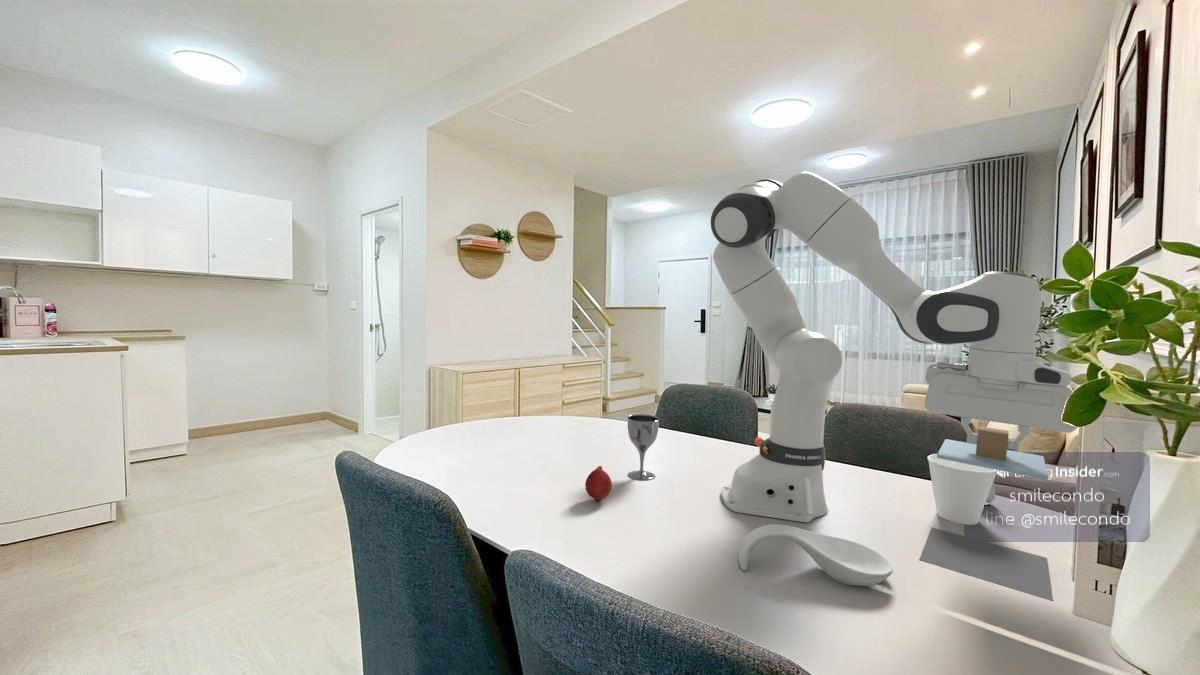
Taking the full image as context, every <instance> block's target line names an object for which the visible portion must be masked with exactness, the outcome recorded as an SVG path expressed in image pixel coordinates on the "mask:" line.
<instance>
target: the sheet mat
mask: <svg viewBox="0 0 1200 675" xmlns="http://www.w3.org/2000/svg"><path fill="white" fill-rule="evenodd" d="M918 560H919V561H921V562H924V563H927V564H931V565H934V566H937V567H941V568H944V569H947V570H950V571H953V572H957V573H960V574H964V575H966V576H970V577H973V578H976V579H980V580H982V581H986V582H990V583H992V584H996V585H999V586H1002V587H1005V588H1008V589H1013V590H1016V591H1018V592H1023V593H1025V594H1029V595H1032V596H1035V597H1039V598H1042V599H1044V600H1049V601H1052V602H1053V601H1054V598H1053V590H1052V583H1051V578H1050V568H1049V563H1048V557H1045V556H1042V555H1038V554H1034V553H1031V552H1026V551H1023V550H1020V549H1015V548H1012V547H1007V546H1005V545H1000V544H996V543H993V542H988V541H985V540H982V539H977V538H975V537H970V536H967V535H962V534H958V533H955V532H951V531H947V530H943V529H940V528H936V527H931V528H930V530H929V533H928V535H927V539H926V541H925V543H924V546H923V549H922V550H921V555H920V557H919V558H918Z"/></svg>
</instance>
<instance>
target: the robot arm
mask: <svg viewBox="0 0 1200 675" xmlns="http://www.w3.org/2000/svg"><path fill="white" fill-rule="evenodd" d="M710 229H711V231H712V235H713V236H714V238H715V239H716V240H717V242H719V243H717V245H716V247H715V248H714V251H713V255H712V258H713V262H714V265H715V267H716V269H717V272H718V274H719V276H720V278H721V281H722V283H723V284H724V286H725V288H726V289H727V291H728V293H729V294H730V296H731V297H732V299H733V301H734V302H735V304H736V305H737V307H738V309H739V310H740V311H741V313H742V314H743V316H744V318H745V320H746V321H747V322H748V324H749V327H750V328H751V331H752V332H753V335H754V336H755V339H756V340H757V342H758V344H759V346H760V348H761V350H762V352H763V353H764V355H765V357H766V358H767V360H768V362H769V364H770V366H771V367H772V368H773V369H774V370H775V371H777V373H778V380H777V386H776V390H775V393H774V398H773V400H772V402H771V404H770V421H769V437H768V438H766V439H763V438H762V437H760V436H756V437H755V439H754V444H755V445H756V447H757V448H759V451H758V452H759V454H757V455H755V456H754V457H753V458H751V459H750V460H747V461H746V462H744V463H742V464H741V465H738V467H737V468H736V469H735V470H734V473H733V477H732V481H731V484H725V485H724V486H723V487H722V488H721V493H720V496H721V500H722V502H723V504H724V505H725V506H726V507H728V509H730V510H731V511H733V512H736V513H739V514H740V513H741V514H747V515H751V516H759V517H760V516H761V517H766V518H767V517H768V518H774V519H781V520H786V521H793V522H800V523H801V522H802V523H811V521H812V520H813V519H815V518H818V517H822V516H824V515H826V514H827V513H828V511H829V510H828V504H827V500H826V496H825V490H824V489H825V488H824V479H823V477H824V476H823V475H824V473H823V471H825V464H826V445H824V437H825V436H824V434H825V419H826V417H825V416H826V409H827V405H828V400H829V397H830V393H831V391H832V387H833V383H834V380H835V378H836V377H837V375H839V372H840V371H841V369H842V365H843V357H842V356H843V355H842V352H841V350H840V348H839V347H838V344H836V343H835V342H834V341H833V340H831V339H830V338H829V337H828V336H827V335H825V334H822V333H820V332H816V331H811V330H810V329H809V328H808V326H807V325H806V323H805V321H804V319H803V317H802V314H801V312H800V309H799V307H798V303H797V299H796V295H794V293H793V292H792V290H791V288H790V286H789V285H788V283H787V282H786V281H785V279H784V277H783V276H782V274H781V273H780V271H779V269H778V268H777V267H776V265H775V264H774V262H773V260H772V259H771V257H770V255H769V254H768V252H767V249H766V246H765V244H766V239H769V238H771V237H772V236H773V234H774V233H775V232H776V231H777V229H782V230H787V231H788V232H790V233H792V234H794V236H796V237H797V238H798V239H799V240H801V241H802V242H803V243H804V244H805V245H806V246H807V247H808V248H809V249H811V250H812V251H814V252H815V253H816V254H817V255H819V256H820V257H822V259H824V260H827V261H828V262H830V263H832V264H833V265H834V266H837V267H838V268H840V269H842V270H844V271H845V272H847V273H849V274H850V275H852V276H853V277H855V278H856V279H857V280H858V281H859V282H861V283H862V284H863V285H864V287H866V288H868V290H870V291H871V292H872V293H873V294H874V295H875V296H877V297H878V298H879V299H880V300H881V301H882V302H883V303H884V304H885V305H886V306H888V308H889V309H890V310H891V311H892V313H893V315H894V317H895V319H896V322H897V324H898V327H899V329H900V330H901V332H902V333H903V334H904V335H905V336H906V337H907V338H908V339H910V340H911V341H913V342H917V343H920V344H925V345H926V344H927V345H929V344H930V345H931V344H933V345H940V346H953V345H958V344H968V345H969V346H968V348H969V349H968V356H967V357H968V359H967V364H966V363H949V362H948V363H947V362H941V361H939V362H936V363H934V364H931V365H929V366H928V367H927V369H926V372H925V382H926V384H927V386H928V387H927V391H926V395H925V398H924V399H925V400H924V408H925V409H926V410H927V412H929V413H933V414H940V415H945V416H948V415H949V416H953V417H960V424H961V426H962V427H963V429H964V432H965V433H966V434H967V435H966V443H969V444H975V445H977V437H978V432H973V430H972V428H971V427H970V425H971V423H972V419H973V420H982V421H986V422H987V421H988V422H993V423H1001V424H1008V425H1013V426H1014V425H1015V426H1017V431H1018V434H1017V435H1016V437H1015V438H1009V437H1008V445H1007V450H1009V451H1015V452H1019V446H1020V443H1021V442H1022V441H1023V440H1024V439H1025V438H1026V437H1028V435H1029V434H1030V428H1034V429H1041V430H1047V431H1055V432H1062V433H1069V434H1071V433H1073V432H1074V431H1076V430H1077V429H1078V427H1074V426H1071V425H1069V424H1065V423H1063V422H1062V421H1061V415H1062V412H1063V409H1064V405H1065V402H1066V400H1067V398H1068V397H1069V396H1070V395H1071V393H1072V392H1073V393H1074V391H1073V390H1072V389H1071V388H1070V387H1069V385H1070V384H1071V383H1072V382H1070V381H1068V380H1069V379H1070V378H1071V379H1072V378H1073V377H1072V374H1071V373H1070V372H1068V371H1066V370H1064V369H1061V368H1059V367H1058V368H1057V367H1055V366H1052V365H1051V364H1049V363H1045V362H1040V361H1038V360H1037V347H1036V341H1035V338H1036V335H1037V332H1038V330H1039V328H1040V324H1041V323H1040V322H1041V309H1042V308H1041V305H1042V299H1041V291H1040V290H1041V289H1040V286H1039V283H1038V281H1036V280H1035V279H1034V278H1033V277H1031V276H1028V275H1025V274H1021V273H1018V272H1017V273H1016V272H1011V271H998V270H997V271H993V270H992V271H986V272H983V273H982V274H980V275H979V276H977V277H976V278H973V279H971V280H968V281H966V282H964V283H961V284H958V285H955V286H953V287H952V286H951V287H948V288H945V289H941V290H938V291H937V290H936V291H933V290H930V289H926V288H924V287H922V286H920V285H919V284H917V282H915V281H914V280H913V279H912V278H910V277H909V276H908V275H907V274H906V273H905V272H904V271H902V269H901V268H899V267H898V266H897V265H896V264H895V263H894V262H893V261H892V260H890V258H888V256H887V255H886V253H885V251H884V250H883V247H882V245H881V244H882V243H881V239H880V229H879V225H878V223H877V222H876V221H875V219H874V218H873V217H872V215H871V214H870V213H869V211H867V210H866V209H865V207H863V205H862V204H860V203H859V202H858V201H856V200H855V199H854V198H853V197H852V196H851V195H849V194H848V193H846V192H845V191H844V190H843V189H841V188H839V187H838V186H837V185H835V184H833V182H830V181H828V180H827V179H825V178H824V177H822V176H819V175H817V174H815V173H813V172H809V171H802V172H798V173H797V174H794V175H792V176H790V177H789V178H787V180H785V181H784V182H783V183H782V182H780V181H777V180H774V179H758V180H756V181H755V182H751V183H748V184H745V185H744V186H741V187H739V188H738V189H736V191H734V192H732V193H731V194H728V195H726V196H725V197H723V198H722V199H721V200H720V201H719V202H718V203H717V204H716V206H715V207H714V209H713V211H712V213H711V216H710Z"/></svg>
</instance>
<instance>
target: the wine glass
mask: <svg viewBox="0 0 1200 675" xmlns="http://www.w3.org/2000/svg"><path fill="white" fill-rule="evenodd" d="M659 425H660V418H659V417H658V416H656V415H651V414H644V413H641V414H640V413H639V414H630V415H628V416H627V433H628V438H629V440H630V442H631V443H632V445H634V447H635V448H636V449H637V452H638V454H639V462H640V463H639V467H640V468H639V469H638V470H632V471H630V472H627V477H628V478H630V479H632V480H636V481H640V482H641V481H644V482H645V481H646V482H647V481H651V480H654V479H655V478H656V474H654V473H653V472H651V471H647V470H644V462H645V461H644V460H645V456H646V453H647V451H648V449H649V448H651V446H652V445H653V444H654V443H655V441H656V440H657V438H658V434H659V427H660V426H659Z"/></svg>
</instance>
